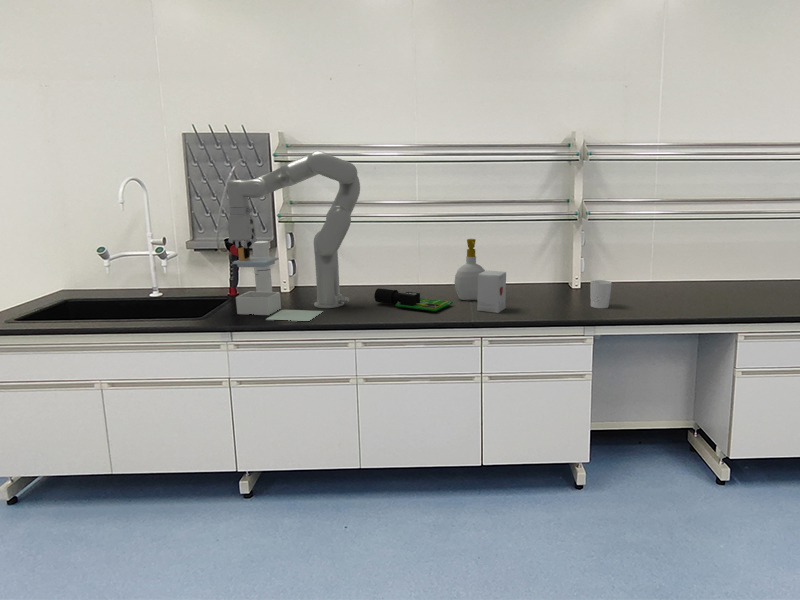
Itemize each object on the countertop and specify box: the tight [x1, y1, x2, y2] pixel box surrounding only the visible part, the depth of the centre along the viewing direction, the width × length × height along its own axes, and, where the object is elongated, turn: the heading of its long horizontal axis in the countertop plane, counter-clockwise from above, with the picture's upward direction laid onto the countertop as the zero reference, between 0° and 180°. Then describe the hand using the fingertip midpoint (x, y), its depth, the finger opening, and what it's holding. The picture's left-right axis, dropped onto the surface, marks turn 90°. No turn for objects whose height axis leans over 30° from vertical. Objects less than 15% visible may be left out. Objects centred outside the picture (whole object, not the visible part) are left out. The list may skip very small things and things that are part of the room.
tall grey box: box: [251, 240, 273, 292], centre depth 252 cm, size 7×7×25 cm
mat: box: [265, 309, 324, 322], centre depth 219 cm, size 18×15×1 cm
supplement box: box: [476, 270, 507, 314], centre depth 219 cm, size 9×9×15 cm
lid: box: [231, 246, 280, 268], centre depth 223 cm, size 14×11×7 cm
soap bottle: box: [454, 238, 486, 301], centre depth 235 cm, size 14×9×26 cm, turn 96°
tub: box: [235, 290, 282, 316], centre depth 227 cm, size 14×11×7 cm
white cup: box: [589, 279, 612, 309], centre depth 220 cm, size 8×8×10 cm
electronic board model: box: [373, 287, 454, 312], centre depth 230 cm, size 30×7×15 cm
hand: (244, 257), depth 224 cm, fingers closed on lid
